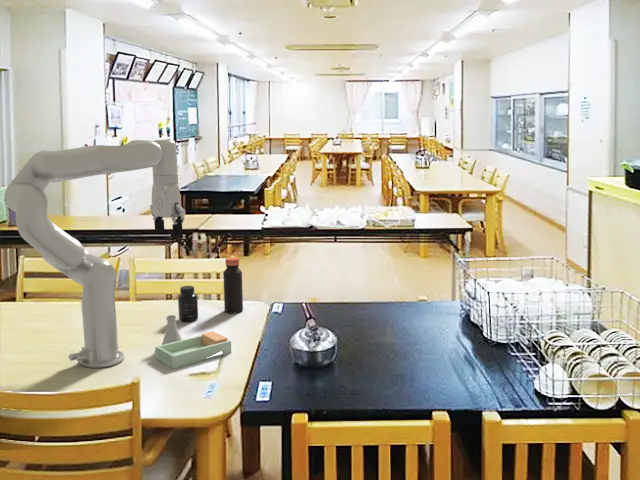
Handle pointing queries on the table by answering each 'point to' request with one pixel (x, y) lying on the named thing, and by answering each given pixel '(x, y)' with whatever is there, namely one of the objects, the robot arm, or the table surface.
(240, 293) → the vinegar
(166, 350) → the pale green shallow box
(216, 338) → the block
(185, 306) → the supplement bottle
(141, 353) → the table surface
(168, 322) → the flask
